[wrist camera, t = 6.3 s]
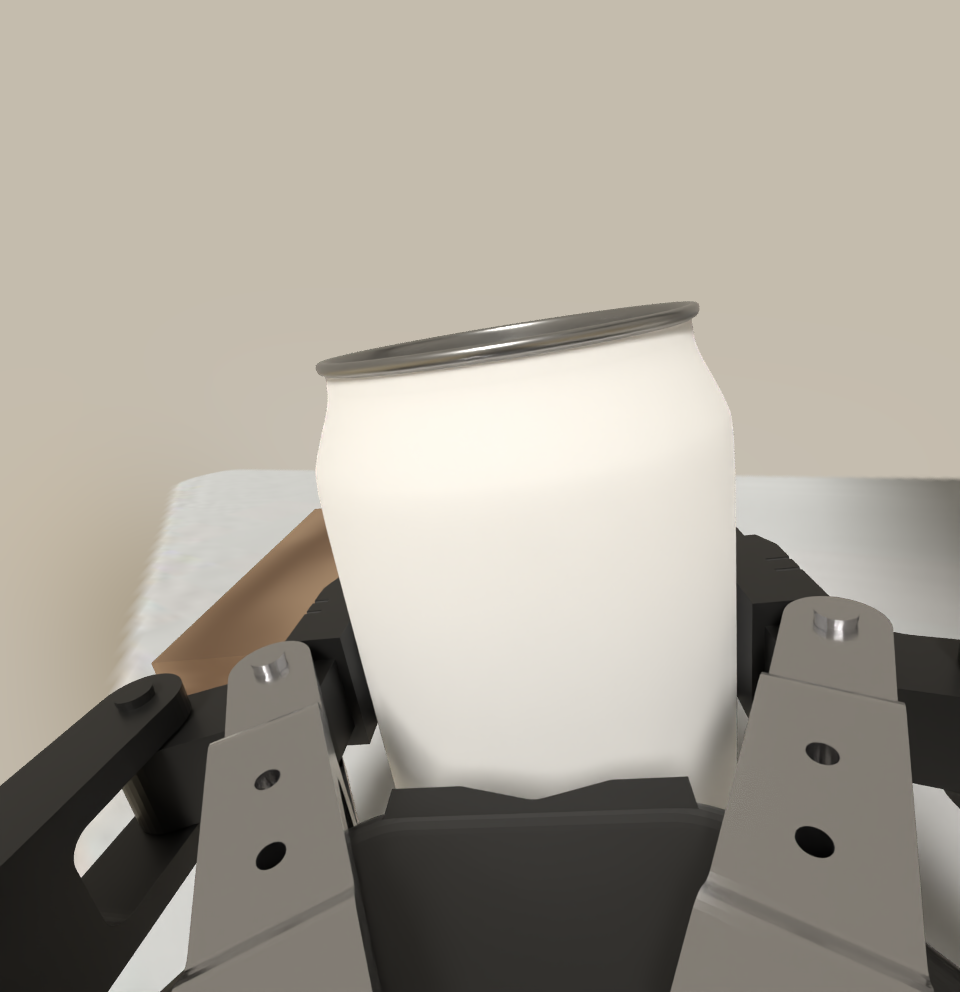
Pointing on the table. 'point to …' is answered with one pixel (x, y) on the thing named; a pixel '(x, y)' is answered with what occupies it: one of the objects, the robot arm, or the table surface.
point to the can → (540, 552)
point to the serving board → (254, 609)
